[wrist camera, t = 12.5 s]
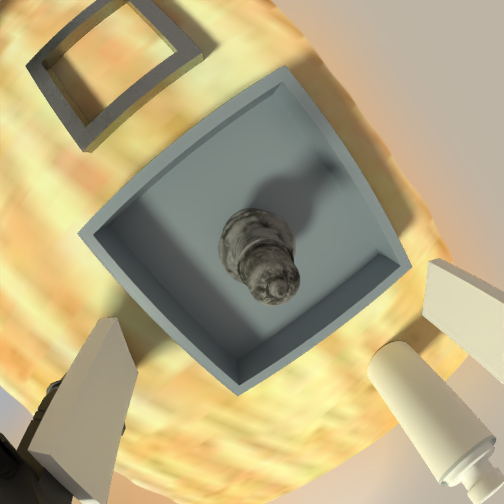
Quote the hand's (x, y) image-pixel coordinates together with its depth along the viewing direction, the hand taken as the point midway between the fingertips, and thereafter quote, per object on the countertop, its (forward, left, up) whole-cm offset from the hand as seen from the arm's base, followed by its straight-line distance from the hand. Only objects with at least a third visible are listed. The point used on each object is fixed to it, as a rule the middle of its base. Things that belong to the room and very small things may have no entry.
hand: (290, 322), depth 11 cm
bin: (0, 0, -16) cm, 16 cm away
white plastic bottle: (+24, +4, -16) cm, 30 cm away
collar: (-22, 0, -16) cm, 27 cm away
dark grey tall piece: (0, 0, -15) cm, 15 cm away
